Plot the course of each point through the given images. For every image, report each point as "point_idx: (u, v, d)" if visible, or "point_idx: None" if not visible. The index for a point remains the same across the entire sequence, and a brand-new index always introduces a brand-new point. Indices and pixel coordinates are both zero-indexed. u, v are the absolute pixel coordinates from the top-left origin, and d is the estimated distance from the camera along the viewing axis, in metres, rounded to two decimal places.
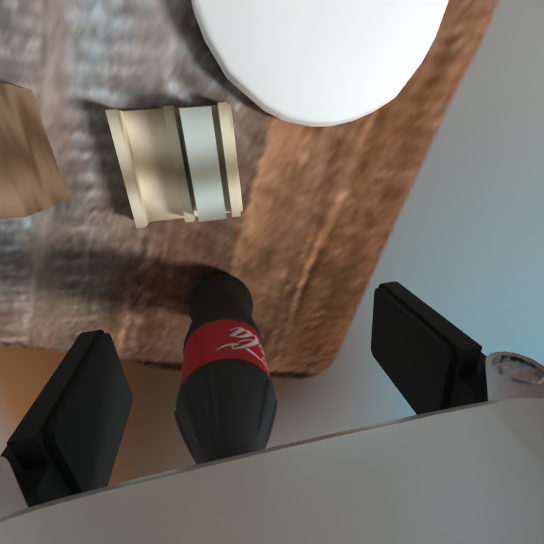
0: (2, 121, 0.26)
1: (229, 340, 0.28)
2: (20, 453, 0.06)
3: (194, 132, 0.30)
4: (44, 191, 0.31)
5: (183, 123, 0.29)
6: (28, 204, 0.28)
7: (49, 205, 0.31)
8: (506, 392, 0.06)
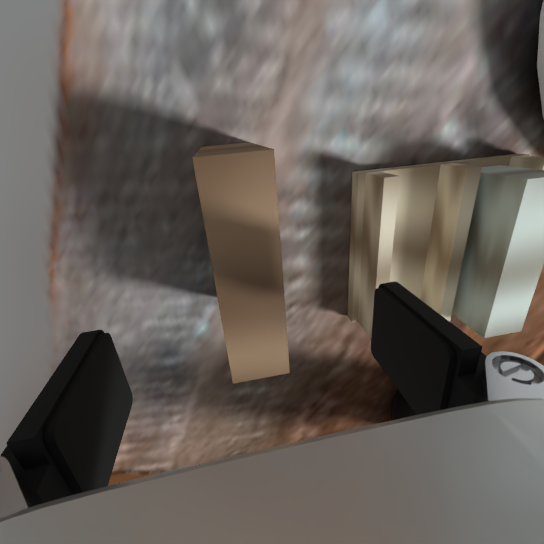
0: None
1: None
2: (20, 453, 0.06)
3: (533, 214, 0.18)
4: None
5: (523, 202, 0.18)
6: None
7: None
8: (506, 392, 0.06)
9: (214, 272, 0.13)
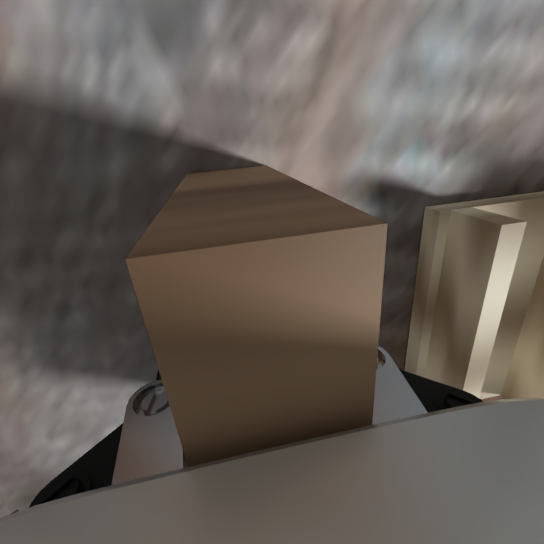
0: None
1: None
2: None
3: None
4: None
5: None
6: None
7: None
8: None
9: None
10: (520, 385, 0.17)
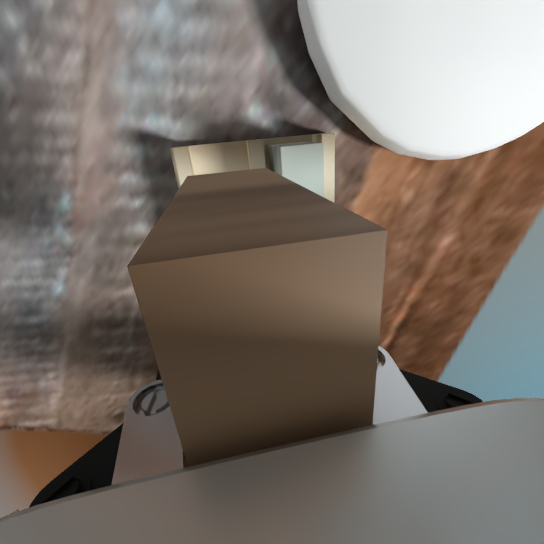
0: None
1: None
2: None
3: (297, 178, 0.21)
4: None
5: (284, 167, 0.21)
6: None
7: None
8: None
9: None
10: None
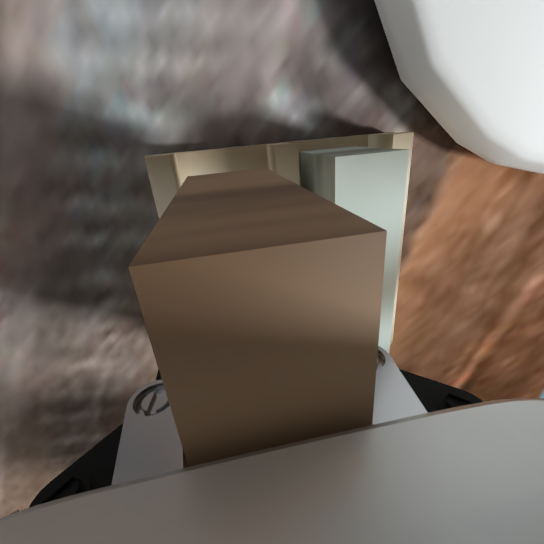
0: None
1: None
2: None
3: (359, 210, 0.12)
4: None
5: (338, 192, 0.12)
6: None
7: None
8: None
9: None
10: None
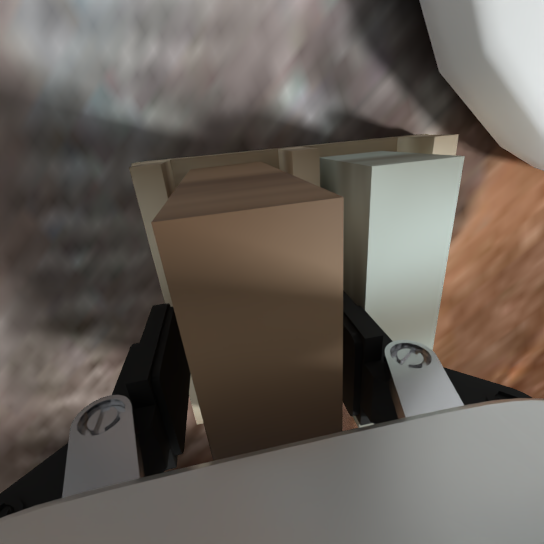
0: None
1: None
2: (134, 393, 0.07)
3: (399, 231, 0.10)
4: None
5: (374, 210, 0.09)
6: None
7: None
8: (408, 380, 0.07)
9: (210, 435, 0.06)
10: None
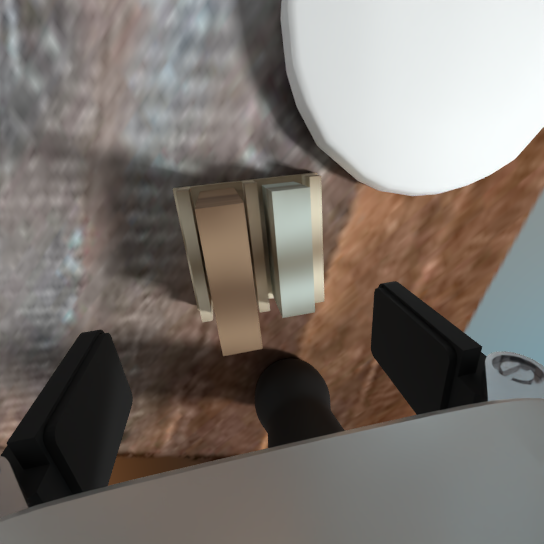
0: None
1: None
2: (20, 453, 0.06)
3: (287, 217, 0.24)
4: None
5: (275, 208, 0.23)
6: None
7: None
8: (506, 392, 0.06)
9: (209, 278, 0.20)
10: (255, 290, 0.30)
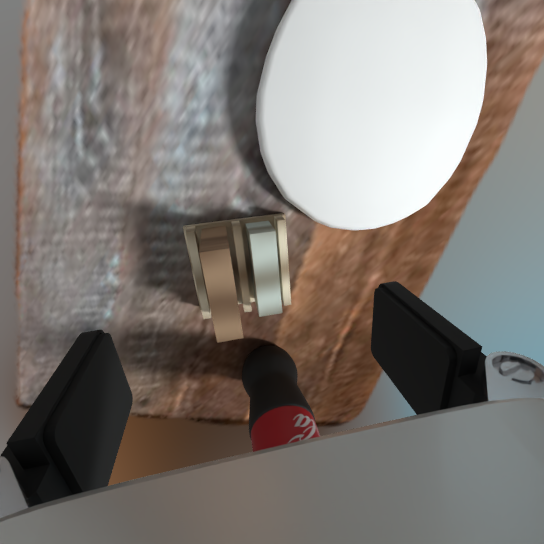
0: None
1: (295, 431, 0.33)
2: (20, 453, 0.06)
3: (260, 250, 0.35)
4: None
5: (252, 245, 0.35)
6: None
7: None
8: (506, 392, 0.06)
9: (208, 293, 0.32)
10: None
